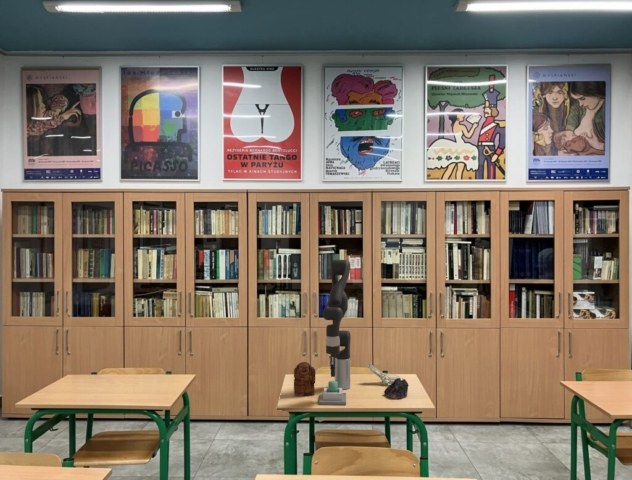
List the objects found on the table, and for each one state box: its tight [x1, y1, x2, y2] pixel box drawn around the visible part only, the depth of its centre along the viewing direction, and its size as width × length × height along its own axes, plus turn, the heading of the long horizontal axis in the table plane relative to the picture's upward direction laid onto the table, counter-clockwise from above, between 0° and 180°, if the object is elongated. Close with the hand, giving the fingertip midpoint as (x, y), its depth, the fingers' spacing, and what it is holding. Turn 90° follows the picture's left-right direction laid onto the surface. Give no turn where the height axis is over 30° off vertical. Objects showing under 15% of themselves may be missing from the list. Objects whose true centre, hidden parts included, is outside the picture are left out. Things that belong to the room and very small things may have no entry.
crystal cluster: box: [383, 378, 409, 400], centre depth 273 cm, size 13×14×10 cm
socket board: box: [318, 387, 347, 406], centre depth 266 cm, size 17×14×5 cm
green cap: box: [327, 380, 338, 393], centre depth 266 cm, size 5×5×8 cm
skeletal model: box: [367, 362, 404, 385], centre depth 298 cm, size 16×9×25 cm
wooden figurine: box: [293, 361, 316, 397], centre depth 276 cm, size 12×6×18 cm, turn 100°
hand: (332, 376), depth 266 cm, fingers closed
